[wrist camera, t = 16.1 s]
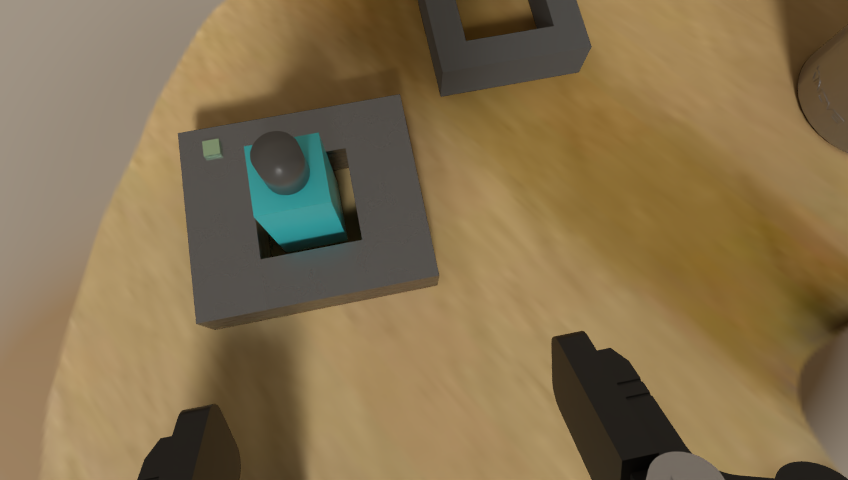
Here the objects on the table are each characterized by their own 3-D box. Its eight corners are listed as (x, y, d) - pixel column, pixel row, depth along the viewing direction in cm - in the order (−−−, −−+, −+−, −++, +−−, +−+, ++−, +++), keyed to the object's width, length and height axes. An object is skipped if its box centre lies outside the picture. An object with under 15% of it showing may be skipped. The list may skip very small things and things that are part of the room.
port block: (401, 116, 38) (399, 91, 35) (437, 285, 35) (439, 274, 32) (196, 153, 37) (175, 131, 34) (214, 329, 34) (194, 323, 31)
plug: (337, 183, 37) (310, 109, 27) (348, 240, 36) (323, 183, 26) (277, 195, 37) (228, 124, 27) (286, 252, 36) (238, 200, 26)
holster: (542, -43, 42) (551, -75, 39) (578, 72, 39) (591, 46, 36) (412, -22, 41) (412, -53, 38) (440, 96, 39) (442, 72, 36)
